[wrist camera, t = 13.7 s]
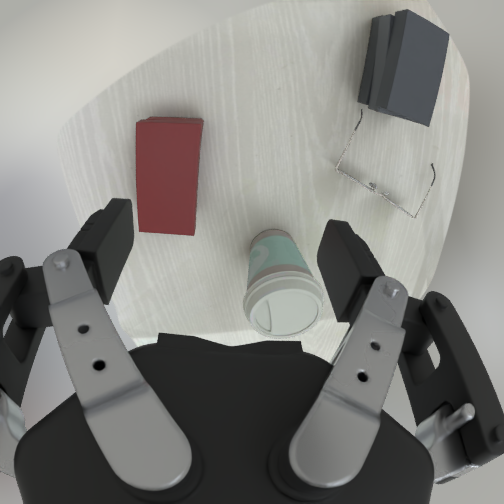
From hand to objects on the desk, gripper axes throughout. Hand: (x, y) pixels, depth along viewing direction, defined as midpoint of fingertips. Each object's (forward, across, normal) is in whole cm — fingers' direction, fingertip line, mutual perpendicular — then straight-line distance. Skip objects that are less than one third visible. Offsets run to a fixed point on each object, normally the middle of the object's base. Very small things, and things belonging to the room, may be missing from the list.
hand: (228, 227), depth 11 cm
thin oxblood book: (+18, +6, +6) cm, 20 cm away
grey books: (+22, -16, -11) cm, 29 cm away
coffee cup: (+21, -7, +15) cm, 27 cm away
